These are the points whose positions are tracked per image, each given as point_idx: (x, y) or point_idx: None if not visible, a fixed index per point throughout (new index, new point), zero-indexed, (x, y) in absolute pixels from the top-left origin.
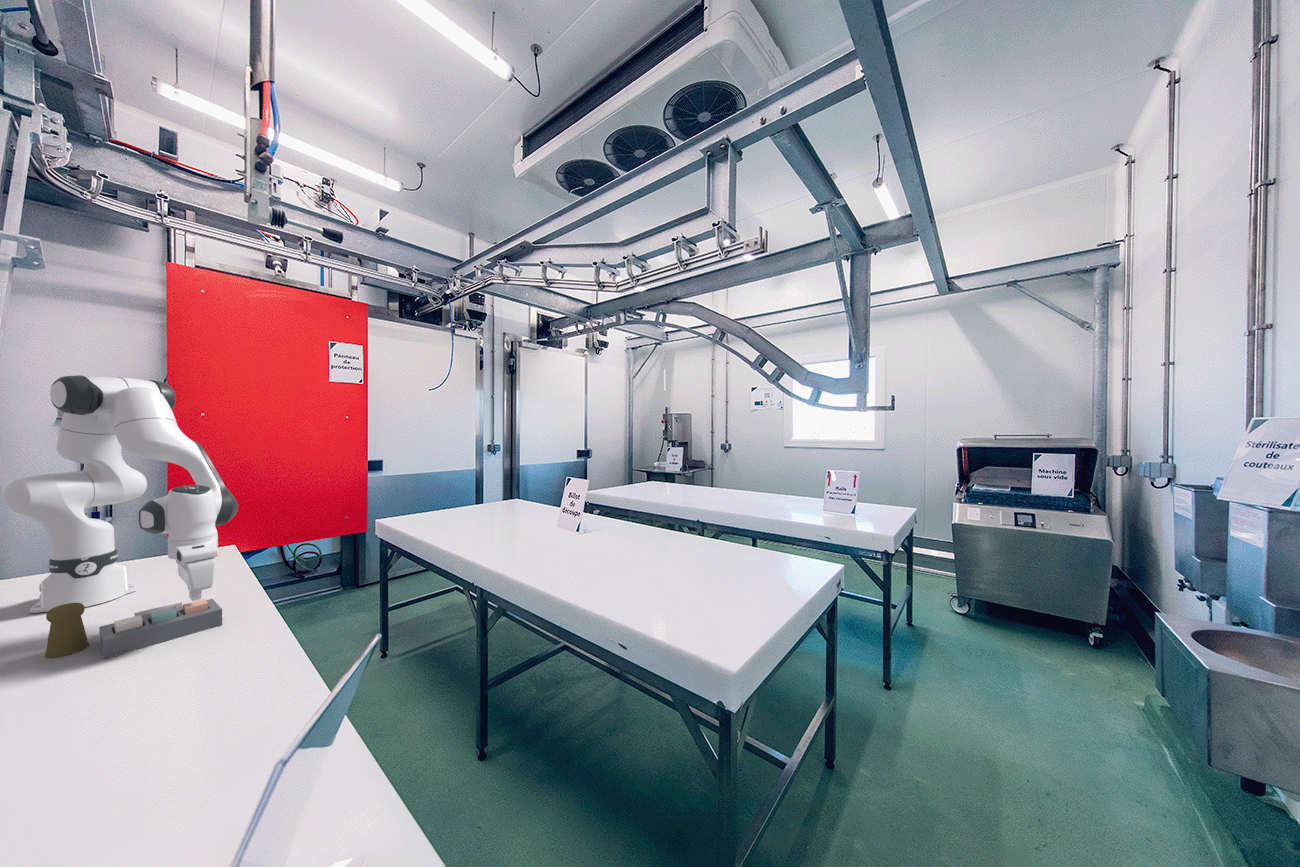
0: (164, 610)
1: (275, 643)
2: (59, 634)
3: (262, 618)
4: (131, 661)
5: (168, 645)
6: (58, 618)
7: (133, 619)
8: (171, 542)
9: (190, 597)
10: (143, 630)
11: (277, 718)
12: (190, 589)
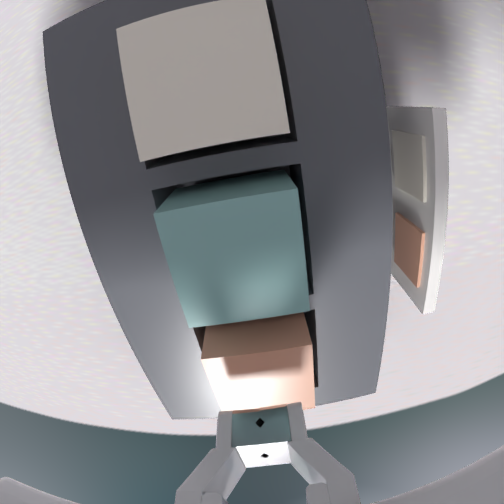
0: (265, 270)
1: (6, 396)
2: None
3: (165, 424)
4: (13, 151)
5: (79, 235)
6: None
7: (196, 101)
8: None
9: (261, 417)
10: (68, 175)
11: None
12: (300, 460)
